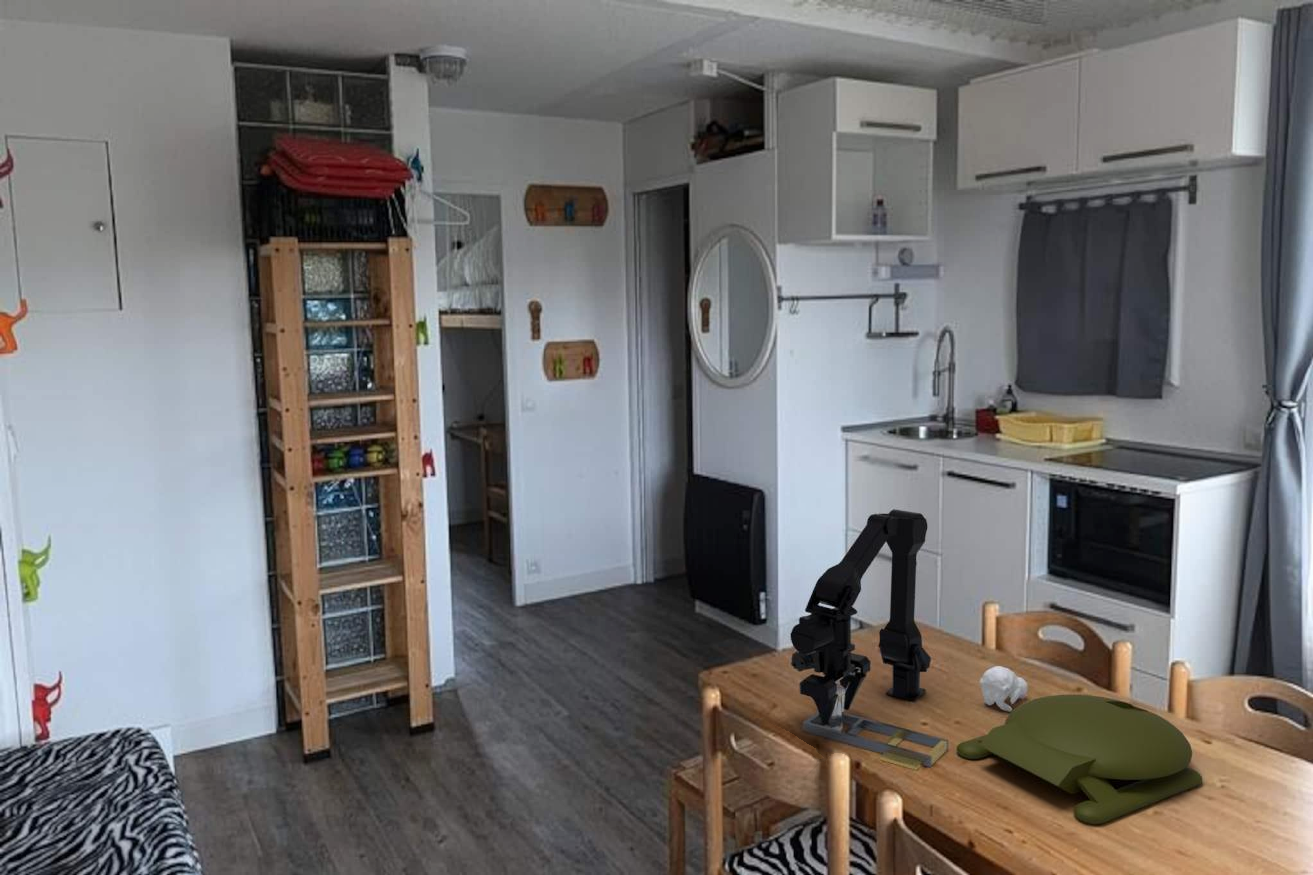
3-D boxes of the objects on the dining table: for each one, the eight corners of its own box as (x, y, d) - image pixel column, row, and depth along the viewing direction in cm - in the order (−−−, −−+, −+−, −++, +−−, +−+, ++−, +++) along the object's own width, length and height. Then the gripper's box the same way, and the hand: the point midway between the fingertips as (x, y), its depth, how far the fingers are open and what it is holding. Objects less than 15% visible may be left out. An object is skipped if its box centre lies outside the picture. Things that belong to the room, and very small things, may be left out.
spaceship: (1093, 832, 152) (1095, 773, 150) (950, 754, 179) (951, 704, 178) (1230, 777, 168) (1233, 723, 166) (1080, 713, 195) (1081, 667, 193)
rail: (829, 711, 198) (829, 703, 198) (953, 744, 182) (953, 735, 182) (796, 735, 187) (796, 726, 187) (924, 772, 171) (924, 762, 171)
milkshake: (849, 735, 187) (849, 686, 185) (821, 733, 188) (821, 684, 186) (849, 725, 191) (849, 677, 190) (822, 723, 192) (822, 675, 191)
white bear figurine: (978, 665, 197) (1011, 656, 205) (975, 705, 198) (1008, 695, 205) (1006, 674, 192) (1038, 664, 200) (1002, 715, 193) (1035, 704, 200)
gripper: (821, 619, 199) (822, 691, 201) (774, 646, 185) (775, 723, 187) (871, 629, 192) (871, 704, 195) (827, 658, 178) (827, 738, 180)
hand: (835, 716), depth 189 cm, fingers open, 8 cm apart
